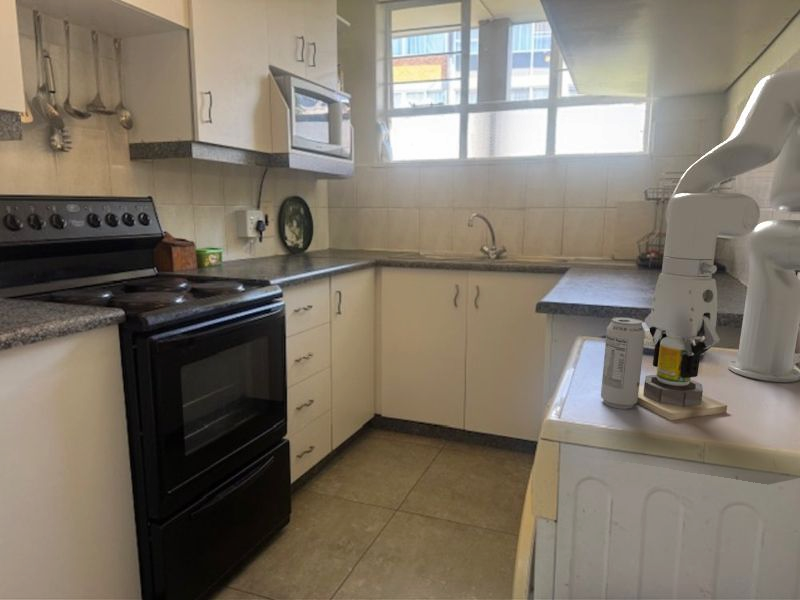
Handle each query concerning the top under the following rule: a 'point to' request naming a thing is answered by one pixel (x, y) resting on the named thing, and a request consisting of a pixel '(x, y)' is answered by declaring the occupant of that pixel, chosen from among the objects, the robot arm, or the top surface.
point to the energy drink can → (622, 362)
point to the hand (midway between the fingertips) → (674, 370)
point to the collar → (677, 399)
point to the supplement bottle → (671, 360)
